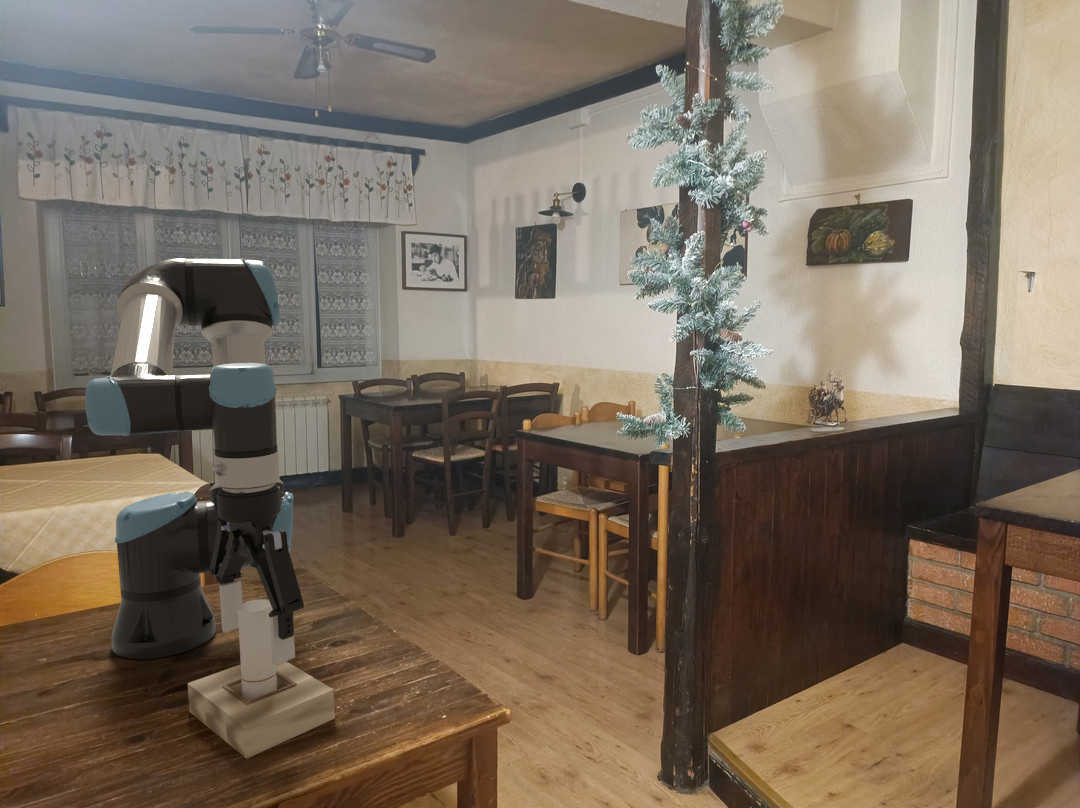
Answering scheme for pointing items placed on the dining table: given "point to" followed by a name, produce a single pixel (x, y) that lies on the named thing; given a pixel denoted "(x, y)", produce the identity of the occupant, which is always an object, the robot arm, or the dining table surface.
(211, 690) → the socket board
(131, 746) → the dining table surface
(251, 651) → the tube
